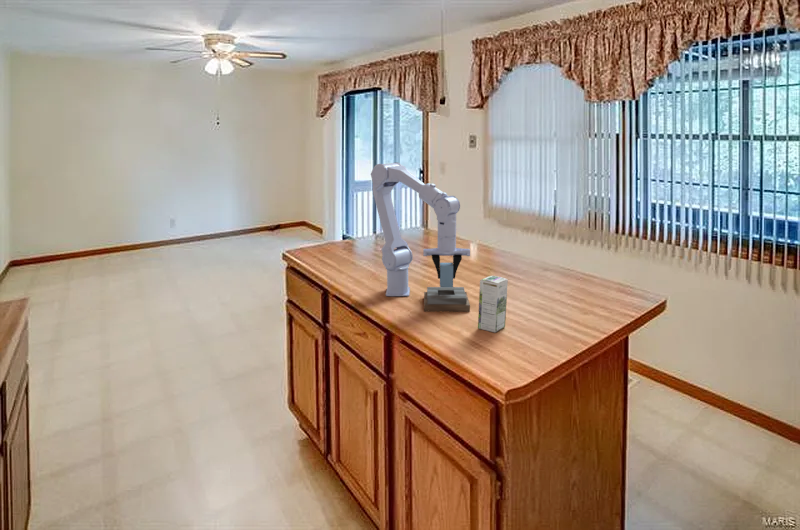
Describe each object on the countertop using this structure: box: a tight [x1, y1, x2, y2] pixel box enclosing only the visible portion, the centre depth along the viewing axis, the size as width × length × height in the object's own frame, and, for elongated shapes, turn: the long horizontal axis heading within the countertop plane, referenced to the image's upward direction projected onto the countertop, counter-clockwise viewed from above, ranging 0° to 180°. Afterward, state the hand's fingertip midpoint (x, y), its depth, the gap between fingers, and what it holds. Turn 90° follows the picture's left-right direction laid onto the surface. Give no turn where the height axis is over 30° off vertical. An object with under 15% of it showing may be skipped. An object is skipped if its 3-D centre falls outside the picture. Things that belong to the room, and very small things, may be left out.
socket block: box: [423, 286, 471, 313], centre depth 172 cm, size 14×14×4 cm
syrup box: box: [477, 275, 509, 333], centre depth 150 cm, size 6×6×14 cm
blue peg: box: [439, 262, 454, 287], centre depth 170 cm, size 4×4×7 cm
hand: (446, 277), depth 170 cm, fingers closed on blue peg, 4 cm apart
